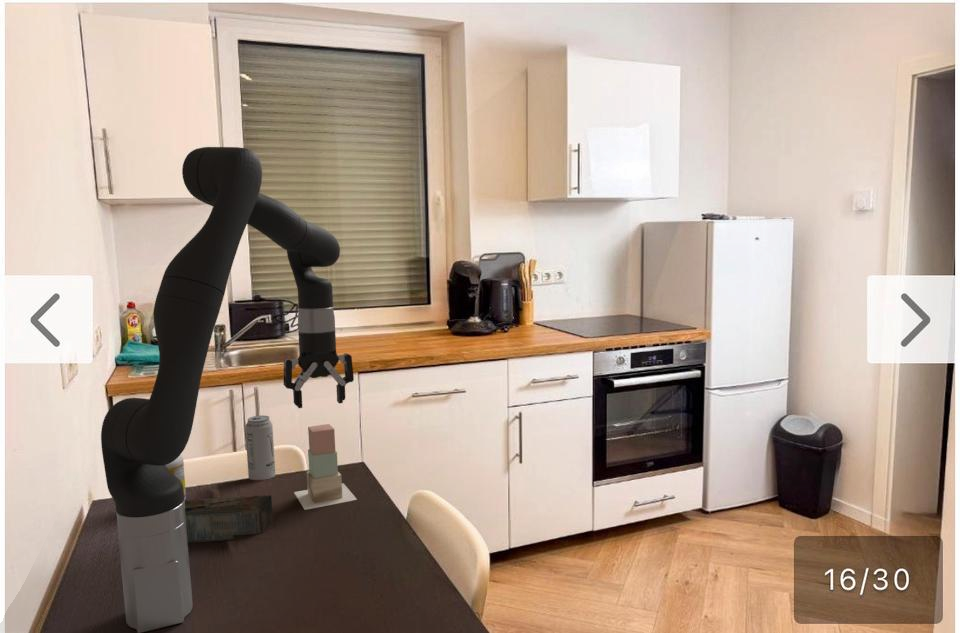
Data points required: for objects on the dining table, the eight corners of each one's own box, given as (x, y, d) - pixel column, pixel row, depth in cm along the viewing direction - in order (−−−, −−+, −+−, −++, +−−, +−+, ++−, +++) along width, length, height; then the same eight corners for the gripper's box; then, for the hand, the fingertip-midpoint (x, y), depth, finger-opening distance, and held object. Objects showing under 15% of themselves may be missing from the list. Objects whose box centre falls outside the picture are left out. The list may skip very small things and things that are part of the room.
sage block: (338, 474, 145) (336, 452, 145) (314, 479, 143) (313, 455, 143) (332, 468, 150) (331, 445, 149) (309, 471, 148) (307, 449, 147)
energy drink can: (274, 483, 158) (270, 420, 157) (247, 486, 157) (243, 422, 155) (276, 475, 164) (272, 414, 162) (250, 477, 163) (246, 415, 161)
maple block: (342, 497, 146) (341, 475, 145) (314, 503, 143) (312, 480, 143) (335, 488, 151) (334, 466, 150) (307, 493, 148) (306, 471, 148)
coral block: (335, 451, 145) (334, 429, 144) (314, 455, 143) (312, 432, 142) (330, 446, 149) (328, 423, 148) (309, 449, 147) (308, 426, 146)
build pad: (357, 504, 145) (357, 499, 145) (304, 515, 140) (304, 509, 140) (343, 488, 155) (343, 483, 154) (294, 497, 150) (293, 492, 150)
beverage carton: (177, 527, 136) (175, 495, 136) (275, 523, 137) (273, 491, 136) (161, 545, 128) (158, 511, 128) (264, 541, 129) (262, 507, 128)
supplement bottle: (145, 507, 146) (140, 449, 145) (168, 495, 153) (163, 439, 151) (171, 510, 144) (166, 451, 143) (193, 498, 151) (188, 441, 149)
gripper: (285, 333, 137) (289, 413, 138) (355, 328, 143) (358, 404, 145) (278, 329, 143) (282, 405, 145) (345, 324, 150) (348, 397, 151)
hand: (320, 405), depth 145 cm, fingers open, 8 cm apart
